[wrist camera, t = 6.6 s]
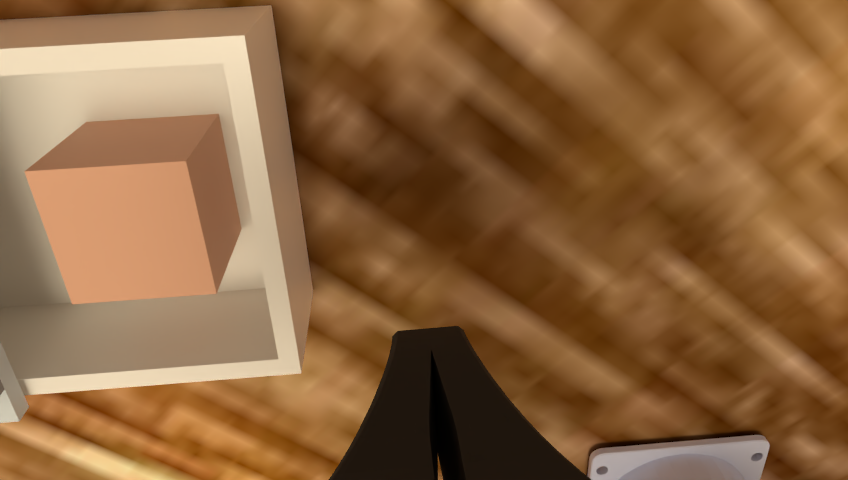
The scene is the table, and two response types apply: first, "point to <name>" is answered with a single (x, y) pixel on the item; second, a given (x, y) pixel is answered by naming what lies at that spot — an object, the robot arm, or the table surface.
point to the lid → (10, 392)
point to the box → (135, 99)
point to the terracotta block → (139, 208)
